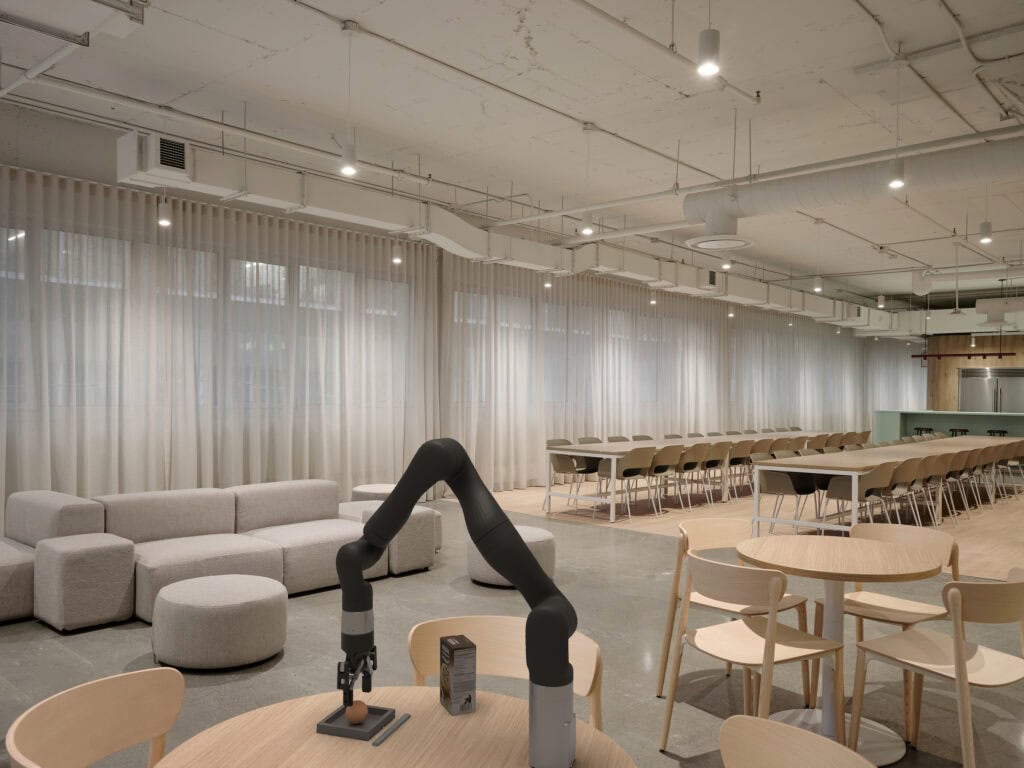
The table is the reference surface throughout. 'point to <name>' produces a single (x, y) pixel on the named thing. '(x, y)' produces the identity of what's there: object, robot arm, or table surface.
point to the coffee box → (457, 674)
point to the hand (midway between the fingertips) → (357, 698)
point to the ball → (357, 712)
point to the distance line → (391, 730)
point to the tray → (361, 731)
